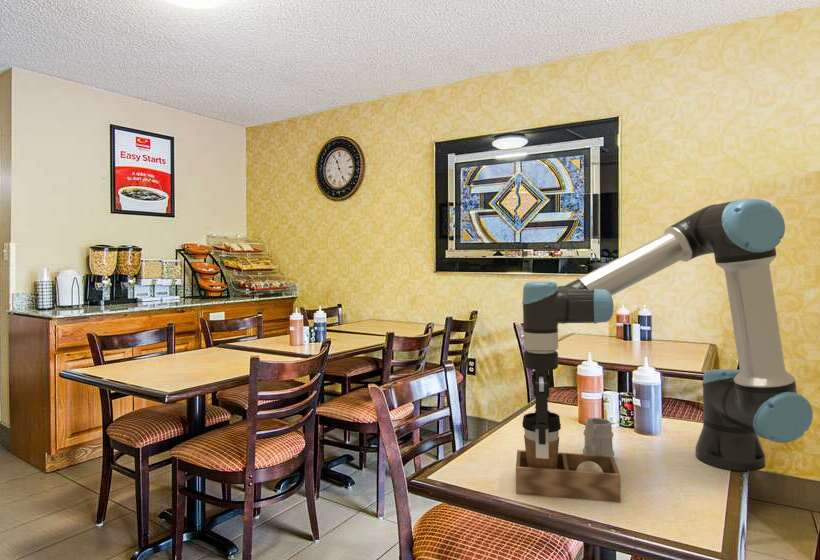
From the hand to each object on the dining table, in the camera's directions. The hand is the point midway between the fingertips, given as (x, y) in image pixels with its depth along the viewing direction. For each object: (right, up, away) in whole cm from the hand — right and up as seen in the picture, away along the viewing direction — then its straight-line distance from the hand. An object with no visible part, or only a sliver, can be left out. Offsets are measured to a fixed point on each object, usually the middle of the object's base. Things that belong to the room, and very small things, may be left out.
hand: (541, 450), depth 117 cm
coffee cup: (0, -7, 0) cm, 7 cm away
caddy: (+5, -9, -1) cm, 10 cm away
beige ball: (+10, -8, -2) cm, 13 cm away
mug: (+18, -8, +16) cm, 25 cm away
